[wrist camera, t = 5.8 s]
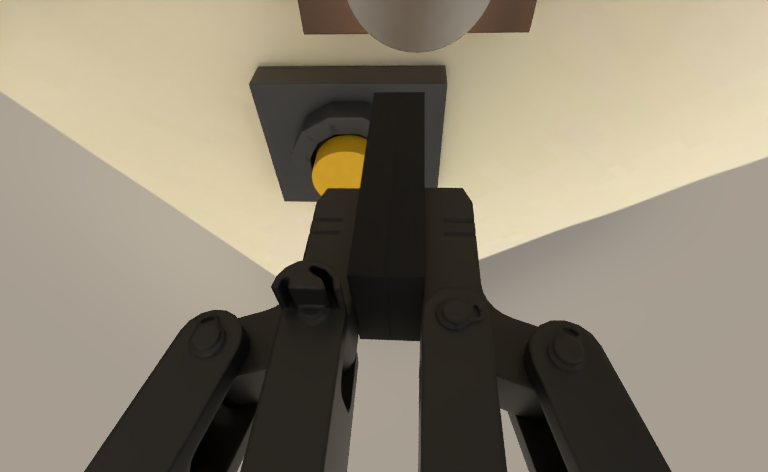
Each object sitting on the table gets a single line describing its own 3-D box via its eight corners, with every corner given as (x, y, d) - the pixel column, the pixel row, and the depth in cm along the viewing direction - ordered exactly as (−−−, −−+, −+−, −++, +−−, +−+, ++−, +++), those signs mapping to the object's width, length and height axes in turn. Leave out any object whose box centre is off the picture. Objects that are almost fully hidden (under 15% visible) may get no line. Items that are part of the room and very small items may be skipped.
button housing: (445, 65, 25) (449, 99, 23) (435, 184, 33) (436, 220, 30) (257, 66, 26) (240, 100, 23) (289, 182, 34) (279, 218, 31)
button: (386, 134, 25) (385, 151, 24) (388, 190, 29) (387, 208, 28) (310, 134, 25) (305, 151, 24) (321, 190, 29) (317, 207, 28)
